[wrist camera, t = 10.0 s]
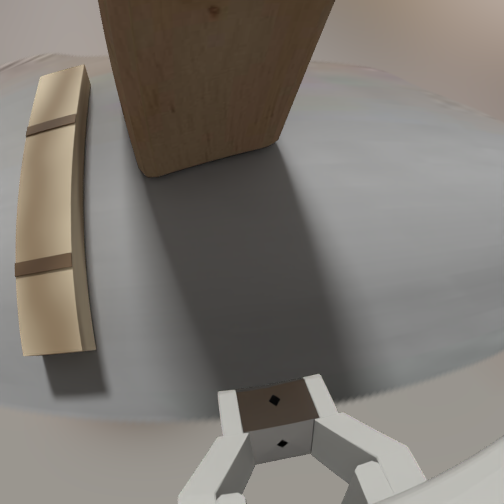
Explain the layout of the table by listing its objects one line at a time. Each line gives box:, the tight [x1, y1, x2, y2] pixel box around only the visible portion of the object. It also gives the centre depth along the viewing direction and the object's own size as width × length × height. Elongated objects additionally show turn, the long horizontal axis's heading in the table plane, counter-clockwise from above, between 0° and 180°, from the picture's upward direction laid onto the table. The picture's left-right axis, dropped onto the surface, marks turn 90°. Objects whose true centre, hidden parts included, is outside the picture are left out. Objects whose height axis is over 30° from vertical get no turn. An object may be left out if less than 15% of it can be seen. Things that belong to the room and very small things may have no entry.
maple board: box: [15, 65, 96, 356], centre depth 18 cm, size 4×21×3 cm, turn 13°
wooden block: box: [98, 0, 335, 177], centre depth 13 cm, size 10×10×20 cm
